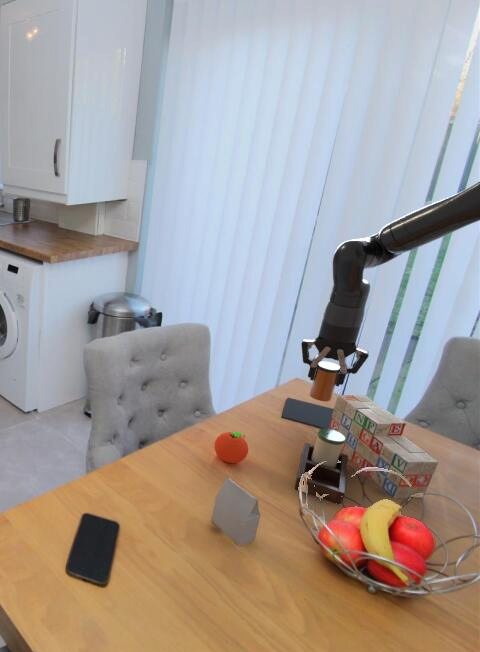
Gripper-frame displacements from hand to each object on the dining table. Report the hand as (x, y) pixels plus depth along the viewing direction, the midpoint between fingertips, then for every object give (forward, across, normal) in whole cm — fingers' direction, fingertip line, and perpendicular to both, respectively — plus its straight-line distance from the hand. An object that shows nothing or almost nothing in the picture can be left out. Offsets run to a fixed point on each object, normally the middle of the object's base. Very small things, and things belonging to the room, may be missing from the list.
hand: (324, 381), depth 123 cm
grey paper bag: (+11, -9, -55) cm, 57 cm away
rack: (+10, +3, -28) cm, 30 cm away
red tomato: (+11, -14, -32) cm, 36 cm away
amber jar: (+4, 0, 0) cm, 4 cm away
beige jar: (+10, +3, -24) cm, 27 cm away
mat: (+10, 0, 0) cm, 10 cm away
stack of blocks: (+11, +12, -16) cm, 23 cm away
